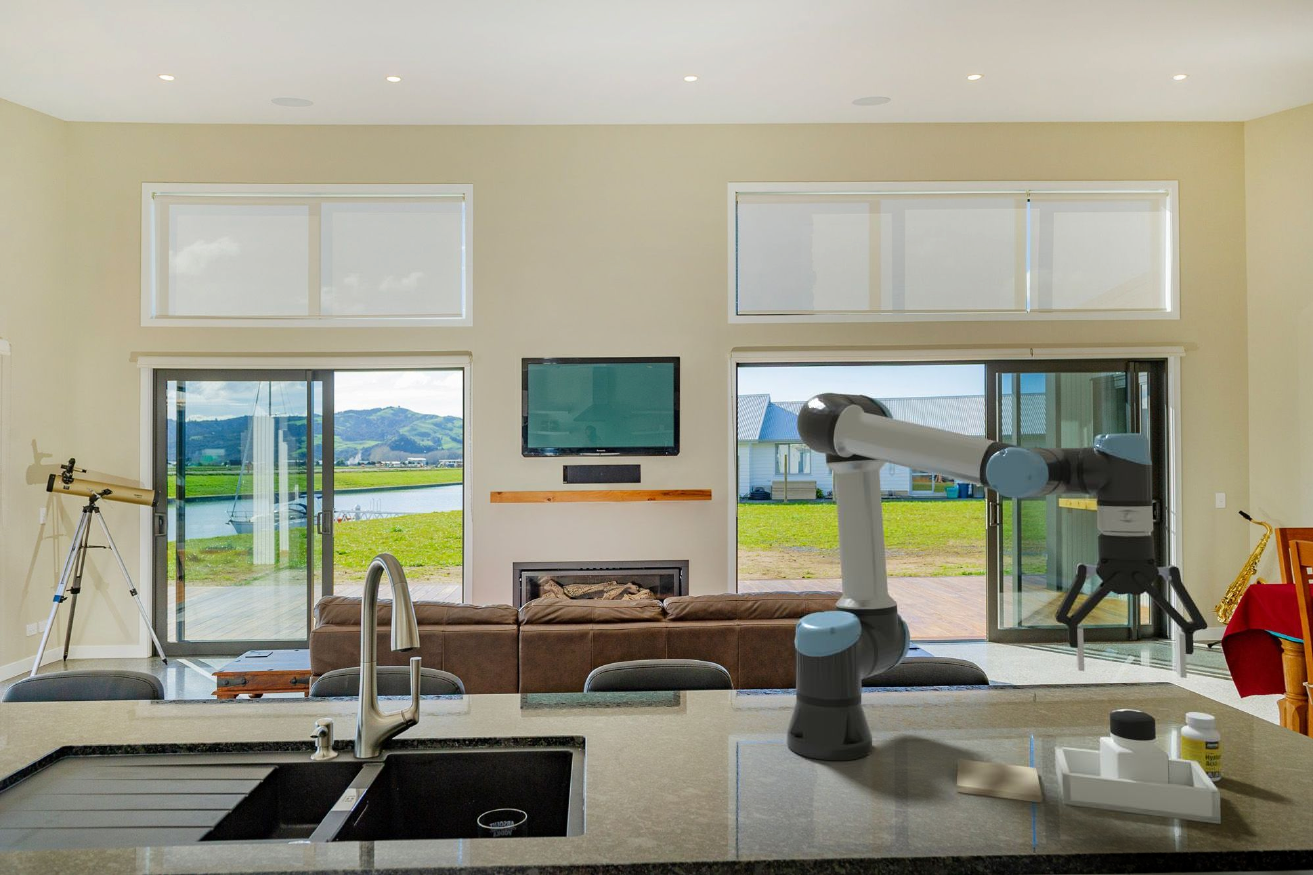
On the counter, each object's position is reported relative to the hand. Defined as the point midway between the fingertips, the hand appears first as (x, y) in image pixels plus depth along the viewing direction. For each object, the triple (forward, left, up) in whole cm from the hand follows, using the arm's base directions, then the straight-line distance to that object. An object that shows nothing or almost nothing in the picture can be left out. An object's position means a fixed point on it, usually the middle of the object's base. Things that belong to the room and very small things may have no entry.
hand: (1130, 672), depth 127 cm
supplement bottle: (+12, +13, -19) cm, 26 cm away
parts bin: (0, 0, -19) cm, 19 cm away
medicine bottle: (0, 0, -18) cm, 18 cm away
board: (-19, -1, -19) cm, 27 cm away
